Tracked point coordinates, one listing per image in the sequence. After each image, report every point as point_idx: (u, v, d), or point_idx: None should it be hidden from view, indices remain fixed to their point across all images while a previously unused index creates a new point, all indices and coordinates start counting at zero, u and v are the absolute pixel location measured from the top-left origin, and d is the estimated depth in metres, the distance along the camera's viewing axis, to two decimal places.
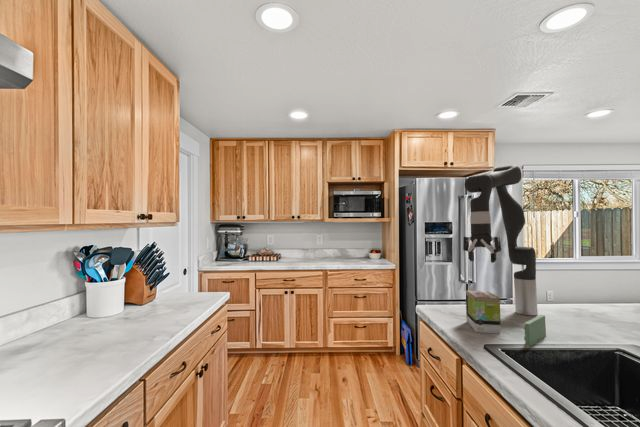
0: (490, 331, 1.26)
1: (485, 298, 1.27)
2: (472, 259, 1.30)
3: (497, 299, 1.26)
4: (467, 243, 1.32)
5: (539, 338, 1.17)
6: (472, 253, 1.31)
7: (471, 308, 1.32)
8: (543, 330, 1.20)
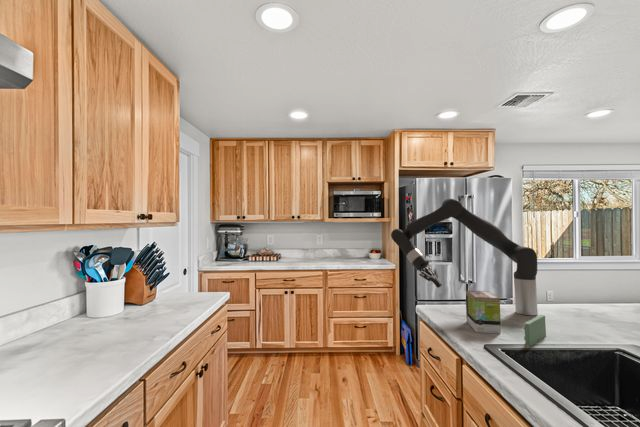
0: (490, 331, 1.26)
1: (485, 298, 1.27)
2: None
3: (497, 299, 1.26)
4: None
5: (539, 338, 1.17)
6: None
7: (471, 308, 1.32)
8: (543, 330, 1.20)
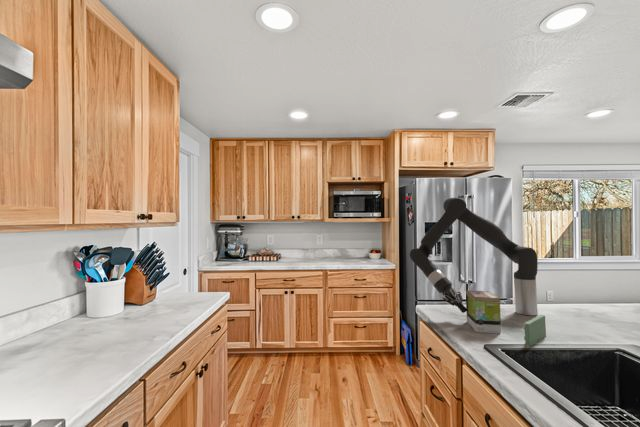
0: (490, 331, 1.26)
1: (485, 298, 1.27)
2: None
3: (497, 299, 1.26)
4: None
5: (539, 338, 1.17)
6: None
7: (471, 308, 1.32)
8: (543, 330, 1.20)
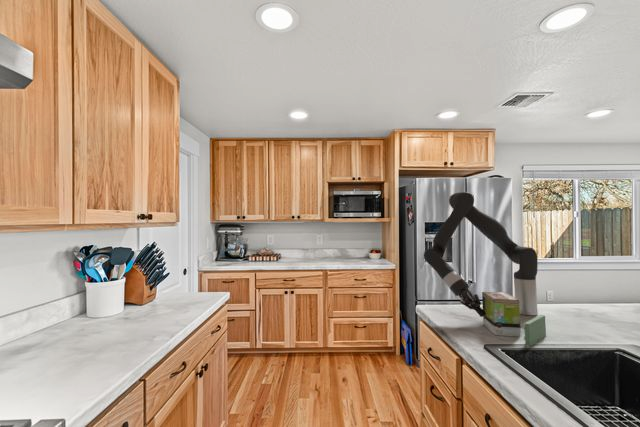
0: (509, 334, 1.22)
1: (504, 300, 1.23)
2: None
3: (516, 301, 1.22)
4: None
5: (539, 338, 1.17)
6: None
7: (489, 310, 1.28)
8: (543, 330, 1.20)
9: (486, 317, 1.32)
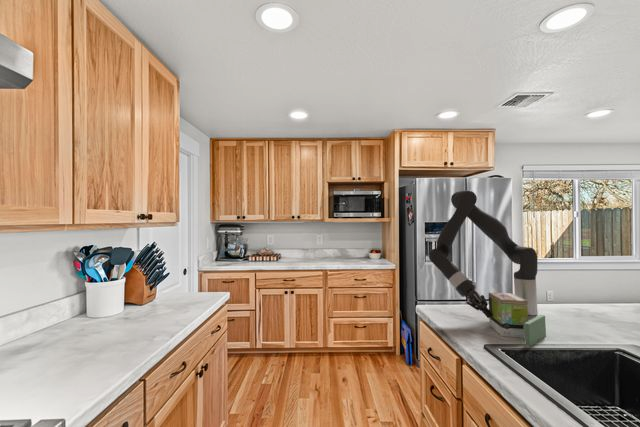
0: (517, 335, 1.20)
1: (512, 301, 1.22)
2: None
3: (524, 302, 1.21)
4: None
5: (539, 338, 1.17)
6: None
7: (496, 311, 1.27)
8: (543, 330, 1.20)
9: (493, 318, 1.30)
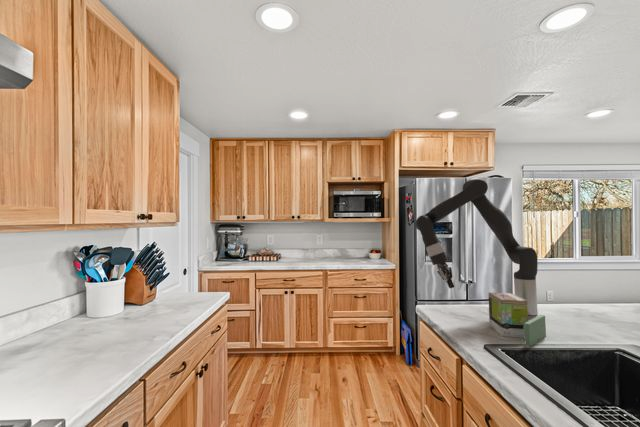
0: (517, 335, 1.20)
1: (512, 301, 1.22)
2: None
3: (524, 302, 1.21)
4: None
5: (539, 338, 1.17)
6: None
7: (496, 311, 1.27)
8: (543, 330, 1.20)
9: (493, 318, 1.30)
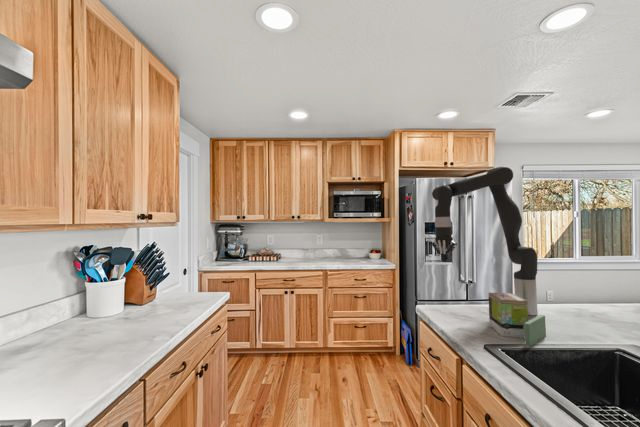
0: (517, 335, 1.20)
1: (512, 301, 1.22)
2: None
3: (524, 302, 1.21)
4: (437, 246, 1.53)
5: (539, 338, 1.17)
6: None
7: (496, 311, 1.27)
8: (543, 330, 1.20)
9: (493, 318, 1.30)
